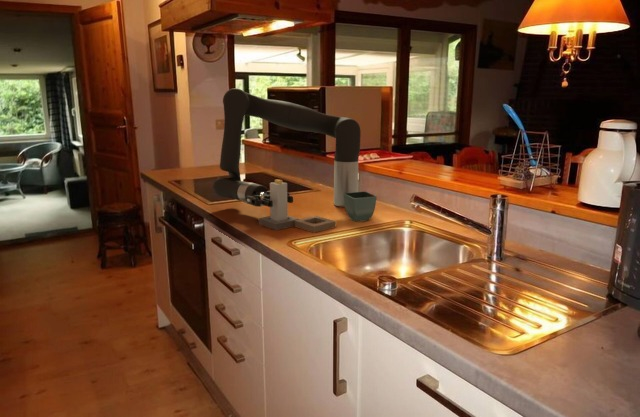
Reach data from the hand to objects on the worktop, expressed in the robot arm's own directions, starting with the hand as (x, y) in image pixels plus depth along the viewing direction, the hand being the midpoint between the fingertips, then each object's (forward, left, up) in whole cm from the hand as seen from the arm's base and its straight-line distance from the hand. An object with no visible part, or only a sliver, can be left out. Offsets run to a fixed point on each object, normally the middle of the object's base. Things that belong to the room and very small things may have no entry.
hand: (282, 201), depth 158 cm
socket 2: (-7, +8, -8) cm, 13 cm away
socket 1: (0, -2, -8) cm, 8 cm away
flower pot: (-24, +12, -8) cm, 28 cm away
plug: (0, -2, -8) cm, 8 cm away
